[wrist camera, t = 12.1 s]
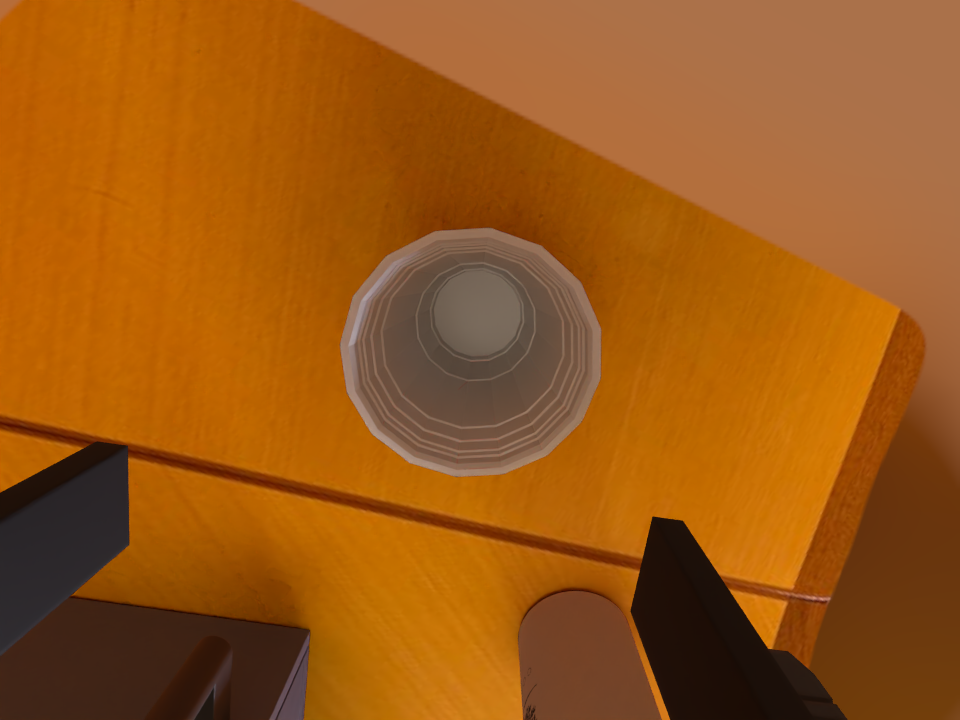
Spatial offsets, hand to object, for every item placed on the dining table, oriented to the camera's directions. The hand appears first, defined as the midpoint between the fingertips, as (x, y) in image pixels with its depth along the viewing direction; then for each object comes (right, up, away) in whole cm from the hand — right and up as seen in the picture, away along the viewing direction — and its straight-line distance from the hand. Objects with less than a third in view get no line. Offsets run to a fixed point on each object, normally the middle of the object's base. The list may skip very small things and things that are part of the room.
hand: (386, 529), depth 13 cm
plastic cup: (+2, +7, +20) cm, 21 cm away
